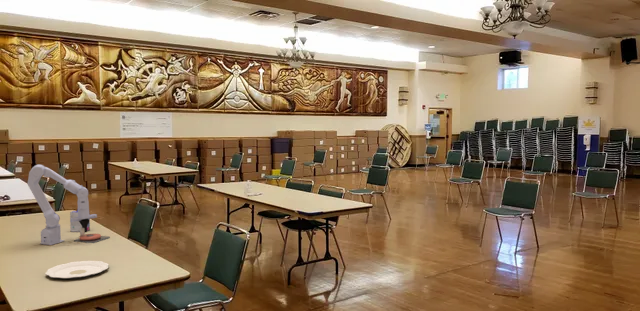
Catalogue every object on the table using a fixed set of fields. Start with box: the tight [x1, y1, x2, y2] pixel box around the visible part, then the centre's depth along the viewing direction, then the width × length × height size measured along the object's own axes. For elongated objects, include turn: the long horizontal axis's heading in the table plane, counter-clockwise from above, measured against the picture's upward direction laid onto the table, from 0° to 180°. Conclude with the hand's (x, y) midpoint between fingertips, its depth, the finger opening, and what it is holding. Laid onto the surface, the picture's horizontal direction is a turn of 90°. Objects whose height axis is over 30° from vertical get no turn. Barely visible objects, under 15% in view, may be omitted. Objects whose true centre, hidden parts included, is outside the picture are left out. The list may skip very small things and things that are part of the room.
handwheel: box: [78, 228, 102, 240], centre depth 273 cm, size 11×11×6 cm
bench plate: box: [73, 235, 111, 244], centre depth 274 cm, size 13×13×1 cm
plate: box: [44, 260, 110, 280], centre depth 214 cm, size 25×25×2 cm
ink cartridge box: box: [69, 208, 91, 233], centre depth 295 cm, size 10×6×14 cm, turn 89°
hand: (84, 232), depth 273 cm, fingers closed, pressing on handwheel
